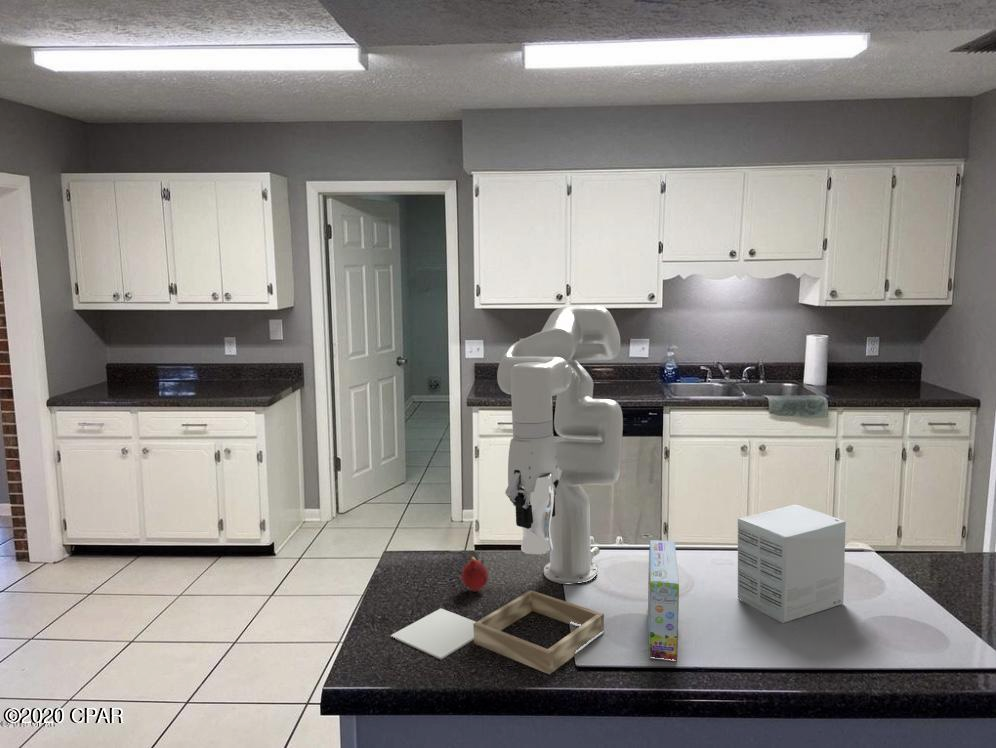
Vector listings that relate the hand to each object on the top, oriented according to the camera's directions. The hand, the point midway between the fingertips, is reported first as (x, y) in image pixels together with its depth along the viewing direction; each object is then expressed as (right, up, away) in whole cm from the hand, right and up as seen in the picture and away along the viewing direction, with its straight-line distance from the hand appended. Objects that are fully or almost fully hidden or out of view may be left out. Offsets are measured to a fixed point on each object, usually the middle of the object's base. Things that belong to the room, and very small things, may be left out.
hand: (536, 520), depth 135 cm
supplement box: (+54, -20, +14) cm, 59 cm away
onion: (-12, -21, +25) cm, 35 cm away
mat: (-19, -24, +7) cm, 31 cm away
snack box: (+25, -23, +4) cm, 34 cm away
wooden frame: (+1, -24, +3) cm, 24 cm away
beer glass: (0, -6, +1) cm, 6 cm away
